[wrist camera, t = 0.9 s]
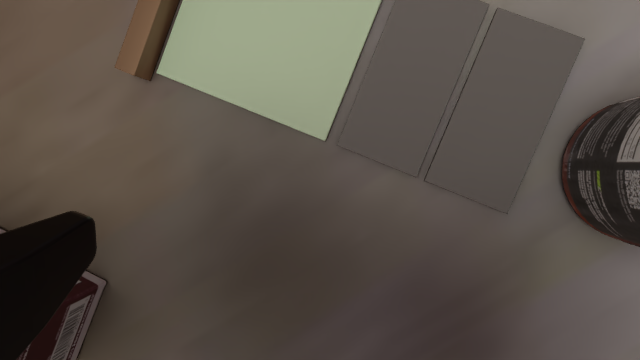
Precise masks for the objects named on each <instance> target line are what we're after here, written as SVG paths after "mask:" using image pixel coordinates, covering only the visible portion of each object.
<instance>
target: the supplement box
mask: <svg viewBox="0 0 640 360" xmlns="http://www.w3.org/2000/svg"><path fill="white" fill-rule="evenodd" d="M4 232H6V231H4V230H2V229H0V234H1V233H4ZM105 285H106V281H105V280H103V279H101V278H99V277H97V276H95V275H93V274H91V273H89V272H87V271H85V272H84V273H83V275H82V276H81V278H80V279H79V280H78V282H77V283H76V285H75V286H74V287H73V289H72V290H71V292H70V293H69V294H68V296H67V297H66V299H65V300H64V301H63V303H62V304H61V306H60V307H59V308H58V310H57V311H56V313H55V314H54V315H53V317H52V318H51V319H50V321H49V322H48V323H47V325H46V326H45V327H44V328H43V330H42V331H41V332H40V333H39V334H38V336H37V337H36V338H35V339H34V340H33V341H32V343H31V344H30V345H29V346H28V347H27V348H26V349H25V351H24V352H23V353H22V354H21V355H20V356H19V357H18V358H17V360H76V358H77V356H78V353H79V350H80V348H81V345H82V343H83V340H84V338H85V335H86V333H87V330H88V327H89V325H90V322H91V320H92V317H93V315H94V312H95V310H96V308H97V305H98V302H99V300H100V297H101V295H102V292H103V289H104V287H105Z"/></svg>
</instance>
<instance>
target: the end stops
mask: <svg viewBox="0 0 640 360" xmlns="http://www.w3.org/2000/svg"><path fill="white" fill-rule="evenodd" d="M178 3H179V0H138V3H137V5H136V8H135V11H134V14H133V17H132V20H131V22H130V25H129V28H128V31H127V34H126V36H125V39H124V42H123V45H122V48H121V51H120V53H119V56H118V59H117V62H116V65H115V68H117V69H119V70H122V71H124V72H127V73H129V74H131V75H134V76H137V77H140V78H143V79H146V80H149V81H150V80H151V77H152V75H153V72H154V69H155V66H156V64H157V61H158V58H159V55H160V53H161V50H162V47H163V44H164V42H165V39H166V36H167V33H168V30H169V28H170V25H171V22H172V19H173V17H174V14H175V11H176V8H177V6H178Z"/></svg>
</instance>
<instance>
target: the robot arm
mask: <svg viewBox="0 0 640 360" xmlns="http://www.w3.org/2000/svg"><path fill="white" fill-rule="evenodd" d="M96 249H97V246H96V231H95V222H94V220H93V218H91V217H89V216H87V215H84V214H81V213H79V212H76V211H70V212H66V213H63V214H60V215H57V216H54V217H51V218H47V219H44V220H41V221H38V222H35V223H32V224H29V225H26V226H23V227H20V228H17V229H13V230H10V231H7V232H4V233H1V234H0V360H17V358H18V357H19V356H20V355H21V354H22V353H23V352H24V351H25V349H26V348H27V347H28V346H29V345H30V344H31V343H32V341H33V340H34V339H35V338H36V337H37V336H38V334H39V333H40V332H41V331H42V330H43V328H44V327H45V326H46V325H47V323H48V322H49V321H50V319H51V318H52V317H53V315H54V314H55V313H56V311H57V310H58V308H59V307H60V306H61V304H62V303H63V301H64V300H65V299H66V297H67V296H68V294H69V293H70V292H71V290H72V289H73V287H74V286H75V285H76V283H77V282H78V280H79V279H80V278H81V276H82V275H83V273H84V272H85V271H86V269H87V268H88V266H89V265H90V264H91V262H92V261H93V259H94V257H95V254H96Z"/></svg>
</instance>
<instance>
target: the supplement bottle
mask: <svg viewBox="0 0 640 360" xmlns="http://www.w3.org/2000/svg"><path fill="white" fill-rule="evenodd" d="M562 180H563V185H564V190H565V192H566V195H567V197H568V200H569V202H570V204H571V205H572V207H573V209H574V210H575V212H576V213H577V214H578V215H579V216H580V217H581V218H582V219H583V220H584V221H585V222H586V223H587V224H589V225H590V226H591V227H593V228H594V229H596V230H598V231H599V232H601V233H603V234H605V235H608V236H610V237H613V238H616V239H619V240H621V241H623V242H626V243H629V244H633V245H635V246H639V247H640V97H636V98H632V99H629V100H625V101H622V102H620V103H616V104H614V105H610V106H608V107H606V108H603V109H602V110H600V111H598V112H596V113H595V114H593V115H592V116H591V117H589V118H588V119H587V120H586V121H585V122H584V123H583V124H582V125H581V126H580V127H579V128H578V129H577V130H576V132H575V133H574V135H573V137H572V138H571V140H570V141H569V143H568V146H567V148H566V150H565V154H564V157H563V167H562Z"/></svg>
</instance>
